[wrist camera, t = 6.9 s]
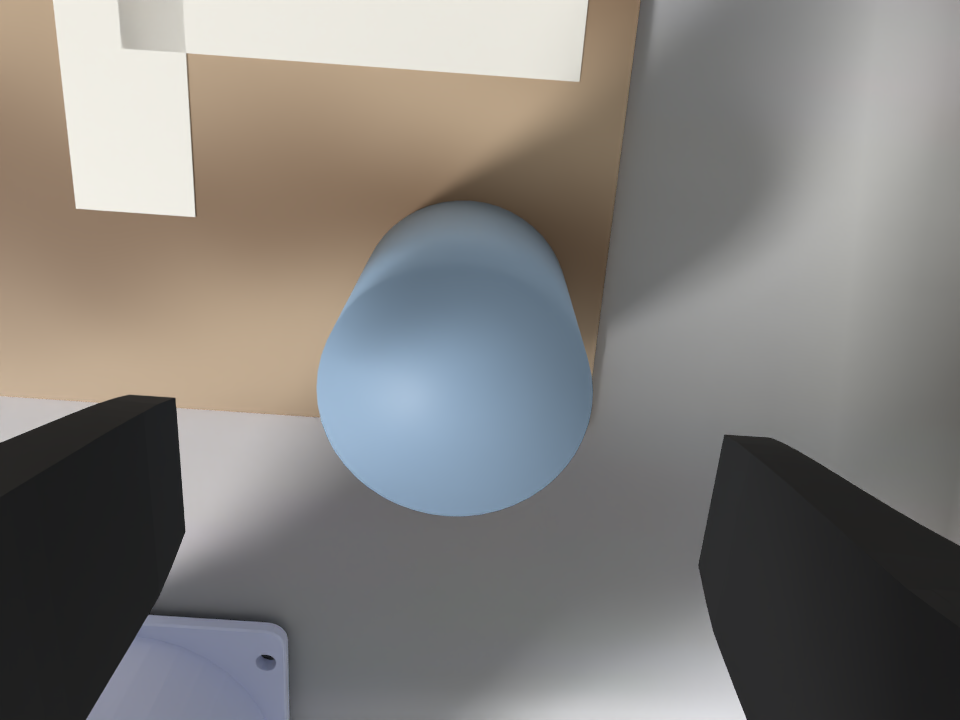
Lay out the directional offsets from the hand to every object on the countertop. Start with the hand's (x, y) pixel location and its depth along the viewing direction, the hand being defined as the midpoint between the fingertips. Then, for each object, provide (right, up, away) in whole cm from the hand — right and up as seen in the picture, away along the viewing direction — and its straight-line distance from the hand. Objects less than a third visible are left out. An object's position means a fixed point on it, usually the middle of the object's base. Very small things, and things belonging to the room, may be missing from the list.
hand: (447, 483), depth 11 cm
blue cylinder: (0, +3, +7) cm, 8 cm away
